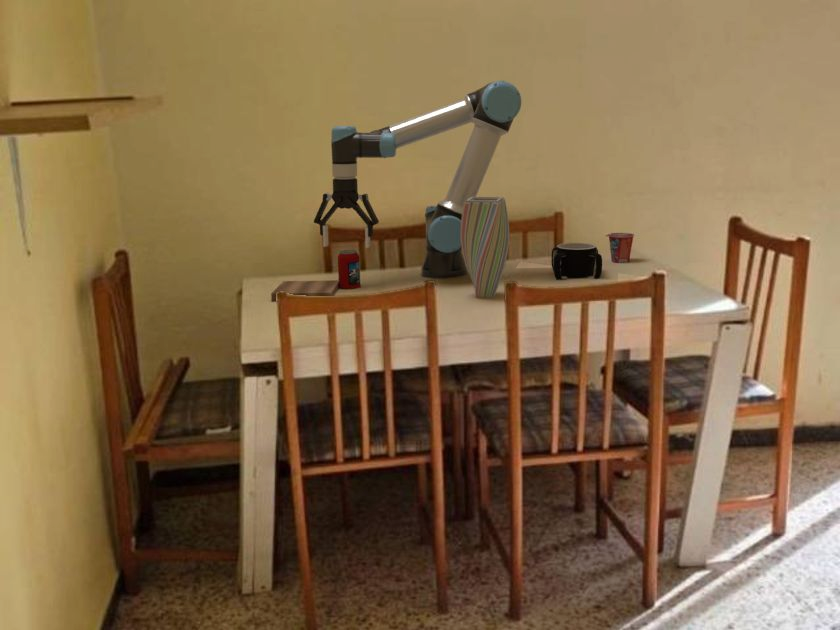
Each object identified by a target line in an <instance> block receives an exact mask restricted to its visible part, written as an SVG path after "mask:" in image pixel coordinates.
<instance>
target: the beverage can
mask: <svg viewBox="0 0 840 630" xmlns="http://www.w3.org/2000/svg"><path fill="white" fill-rule="evenodd" d="M360 263H361V261H360V255H359V254H358V251H357V250H355V249H354V250H353V249H347V250H346V249H345V250H340V251H339V253H338V256H337V272H338V274H337V275H338V280H339V289H341V290H355V289H358V288H361V264H360Z"/></svg>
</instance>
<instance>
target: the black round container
mask: <svg viewBox="0 0 840 630" xmlns="http://www.w3.org/2000/svg"><path fill="white" fill-rule="evenodd" d="M550 260H551V269H552V271H553V275H554V278H555V280H559V281H561V280H565V279H583V278H584V279H585V278H589V279H595V280H597V279H600V278H601V276H602V272H603V257H602V255H601V253H599V249H598V248H597V245H595V244H593V243H589V242H565V243H559V244H557V245H556V247H553V248H552V249H551V259H550ZM593 275H594V276H593Z"/></svg>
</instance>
